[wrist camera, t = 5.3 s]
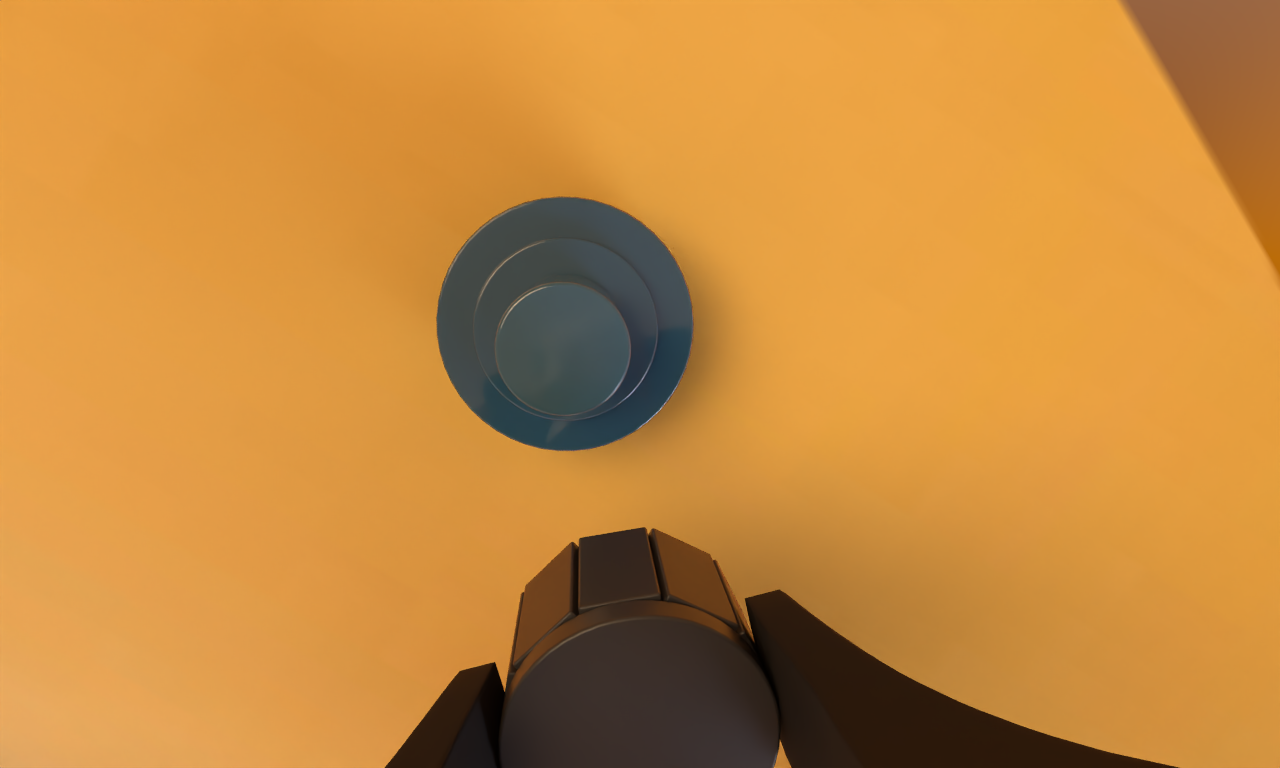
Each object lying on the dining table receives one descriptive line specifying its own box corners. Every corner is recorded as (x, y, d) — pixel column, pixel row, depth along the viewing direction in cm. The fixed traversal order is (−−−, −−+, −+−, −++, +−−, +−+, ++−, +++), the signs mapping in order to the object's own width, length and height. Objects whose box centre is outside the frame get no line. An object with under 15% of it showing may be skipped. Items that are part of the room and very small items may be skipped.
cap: (676, 761, 14) (701, 899, 11) (473, 681, 13) (444, 806, 10) (782, 587, 13) (837, 685, 10) (575, 491, 12) (573, 569, 9)
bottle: (614, 450, 20) (629, 546, 14) (425, 358, 19) (349, 418, 13) (713, 268, 20) (775, 283, 13) (520, 161, 18) (487, 124, 12)
